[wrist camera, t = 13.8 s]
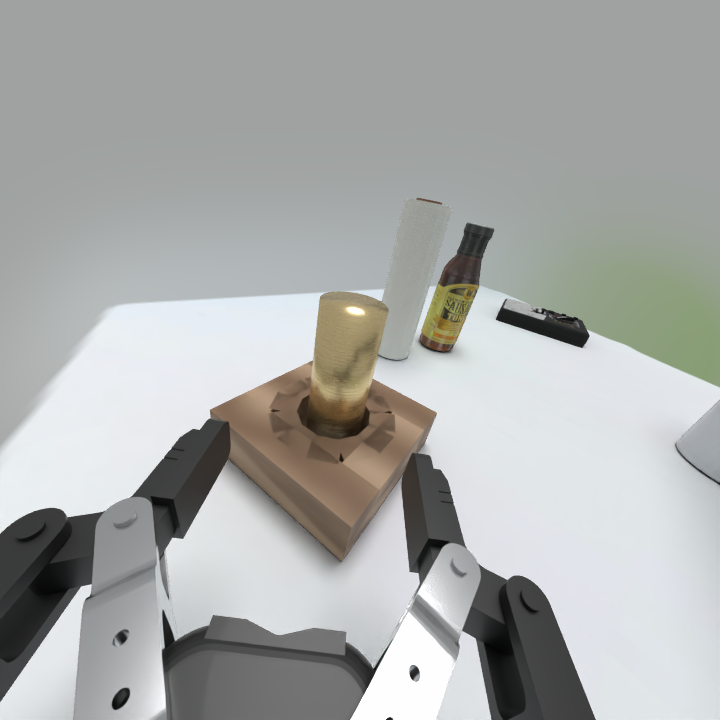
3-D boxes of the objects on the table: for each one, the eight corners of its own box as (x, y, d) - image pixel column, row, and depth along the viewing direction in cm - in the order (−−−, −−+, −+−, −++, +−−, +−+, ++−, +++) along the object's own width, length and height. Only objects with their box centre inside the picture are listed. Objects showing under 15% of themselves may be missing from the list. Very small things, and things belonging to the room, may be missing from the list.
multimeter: (581, 350, 63) (595, 329, 61) (494, 321, 70) (503, 302, 68) (575, 333, 74) (586, 315, 71) (500, 309, 80) (507, 293, 78)
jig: (322, 381, 35) (326, 354, 33) (425, 442, 29) (437, 413, 27) (214, 445, 24) (209, 409, 22) (341, 561, 18) (351, 527, 16)
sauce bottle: (429, 354, 47) (474, 224, 37) (412, 336, 52) (447, 217, 42) (461, 353, 49) (511, 231, 39) (441, 337, 54) (481, 224, 44)
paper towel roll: (377, 360, 42) (417, 196, 31) (367, 341, 47) (398, 194, 36) (421, 361, 44) (471, 208, 33) (406, 343, 49) (447, 205, 38)
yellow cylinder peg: (327, 419, 29) (347, 288, 22) (364, 444, 27) (400, 308, 20) (293, 445, 26) (304, 298, 19) (333, 476, 24) (363, 324, 17)
